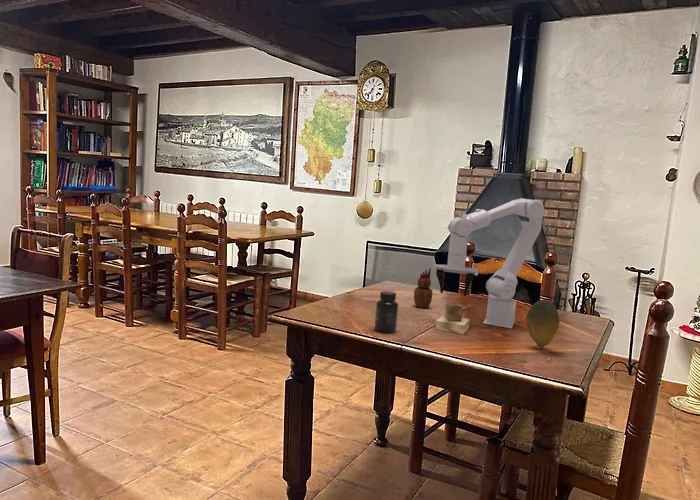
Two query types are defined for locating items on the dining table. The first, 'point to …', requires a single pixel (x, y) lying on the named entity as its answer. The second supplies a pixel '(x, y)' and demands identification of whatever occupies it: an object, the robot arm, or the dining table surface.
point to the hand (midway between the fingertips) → (453, 294)
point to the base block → (452, 325)
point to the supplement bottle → (386, 313)
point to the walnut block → (453, 312)
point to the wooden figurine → (423, 291)
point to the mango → (542, 322)
